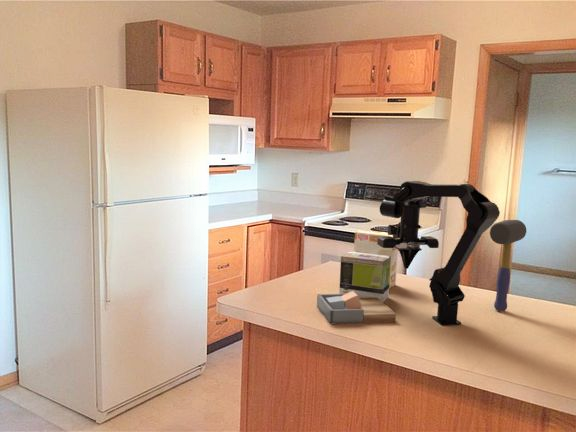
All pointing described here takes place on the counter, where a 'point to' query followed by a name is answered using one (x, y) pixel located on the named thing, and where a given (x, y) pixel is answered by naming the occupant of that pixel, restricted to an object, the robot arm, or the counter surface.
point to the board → (376, 311)
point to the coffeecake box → (376, 249)
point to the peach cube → (351, 300)
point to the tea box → (365, 275)
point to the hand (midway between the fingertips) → (406, 268)
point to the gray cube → (335, 302)
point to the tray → (338, 311)
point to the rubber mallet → (505, 255)
